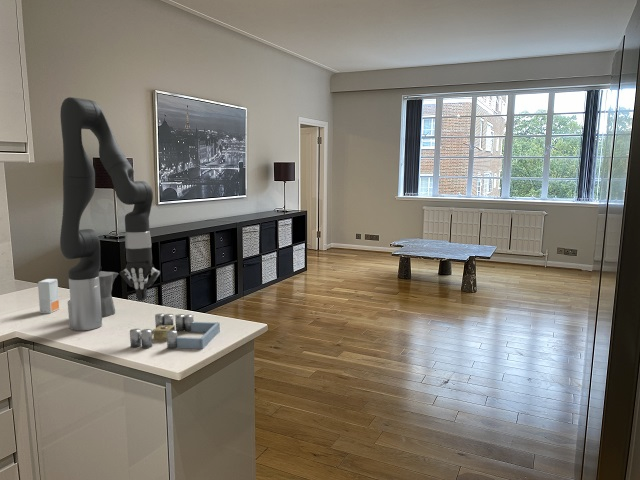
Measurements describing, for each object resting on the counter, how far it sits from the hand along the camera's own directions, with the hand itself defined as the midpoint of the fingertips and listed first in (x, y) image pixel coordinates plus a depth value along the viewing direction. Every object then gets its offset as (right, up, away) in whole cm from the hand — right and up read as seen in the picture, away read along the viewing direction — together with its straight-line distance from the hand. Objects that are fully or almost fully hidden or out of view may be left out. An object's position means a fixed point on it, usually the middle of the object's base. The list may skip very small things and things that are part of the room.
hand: (141, 300), depth 151 cm
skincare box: (-46, -8, +31) cm, 56 cm away
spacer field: (+7, -12, +1) cm, 14 cm away
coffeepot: (-26, -9, +26) cm, 38 cm away
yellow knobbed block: (+7, -12, +1) cm, 14 cm away
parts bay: (+17, -12, 0) cm, 21 cm away
